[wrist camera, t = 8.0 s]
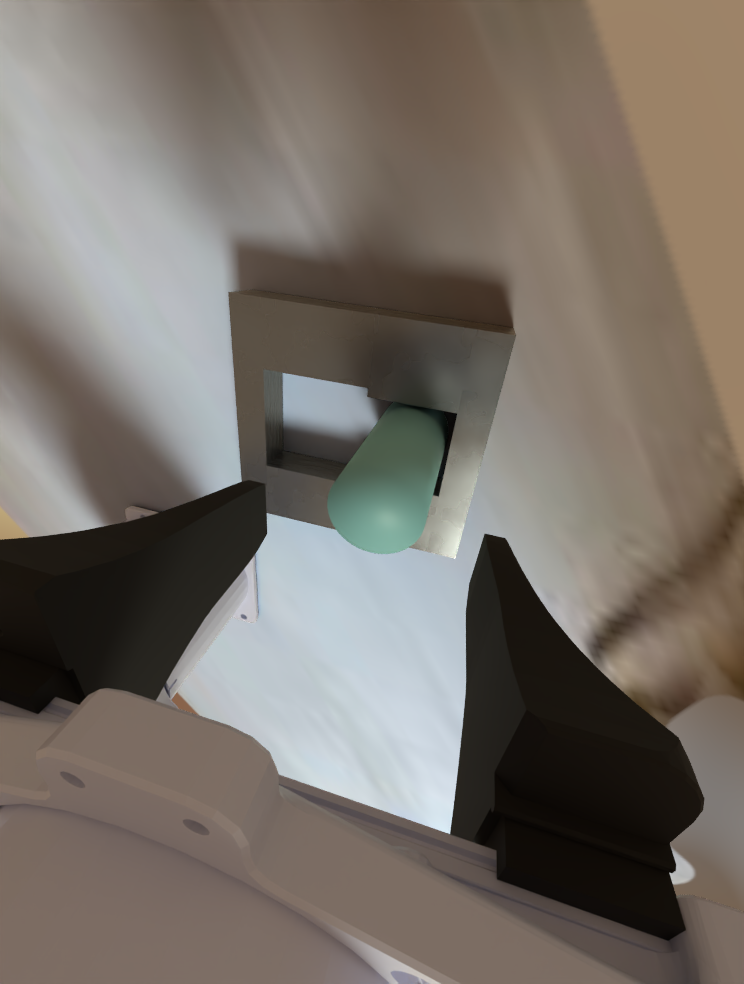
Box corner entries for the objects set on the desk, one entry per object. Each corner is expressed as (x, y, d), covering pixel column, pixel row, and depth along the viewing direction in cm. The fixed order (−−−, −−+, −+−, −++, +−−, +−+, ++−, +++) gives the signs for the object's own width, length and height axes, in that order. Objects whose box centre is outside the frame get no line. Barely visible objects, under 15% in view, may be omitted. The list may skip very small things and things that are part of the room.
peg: (377, 453, 22) (324, 540, 15) (385, 390, 20) (330, 456, 13) (441, 466, 21) (416, 563, 14) (455, 403, 19) (435, 479, 12)
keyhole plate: (260, 490, 25) (243, 507, 23) (251, 289, 19) (228, 292, 17) (457, 536, 23) (455, 558, 21) (513, 327, 17) (515, 335, 15)
